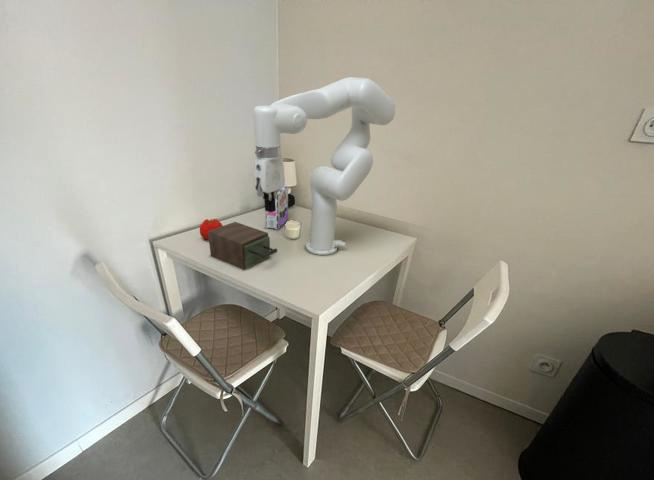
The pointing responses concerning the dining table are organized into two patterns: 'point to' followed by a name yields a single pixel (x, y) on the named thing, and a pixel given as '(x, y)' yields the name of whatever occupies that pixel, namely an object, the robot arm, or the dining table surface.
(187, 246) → the dining table surface
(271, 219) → the candy box
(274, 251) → the drawer
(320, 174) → the robot arm
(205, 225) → the tomato
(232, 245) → the cabinet
